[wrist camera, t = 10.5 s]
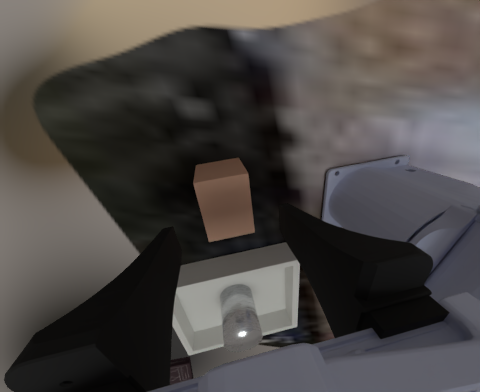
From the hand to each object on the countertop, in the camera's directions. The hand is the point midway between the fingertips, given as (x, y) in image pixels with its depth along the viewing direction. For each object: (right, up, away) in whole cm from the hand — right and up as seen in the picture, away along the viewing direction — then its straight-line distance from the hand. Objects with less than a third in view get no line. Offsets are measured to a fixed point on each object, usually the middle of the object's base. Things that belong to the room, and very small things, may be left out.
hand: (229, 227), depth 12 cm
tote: (0, -11, +13) cm, 17 cm away
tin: (0, -12, +13) cm, 17 cm away
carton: (-1, +3, +6) cm, 7 cm away
